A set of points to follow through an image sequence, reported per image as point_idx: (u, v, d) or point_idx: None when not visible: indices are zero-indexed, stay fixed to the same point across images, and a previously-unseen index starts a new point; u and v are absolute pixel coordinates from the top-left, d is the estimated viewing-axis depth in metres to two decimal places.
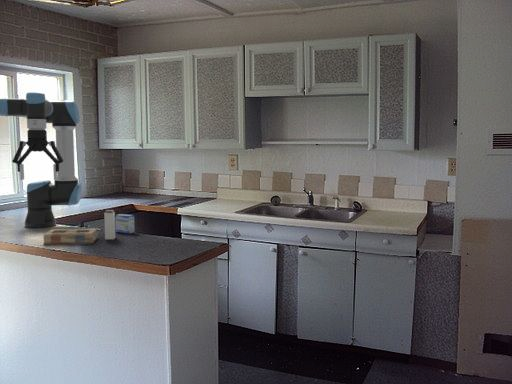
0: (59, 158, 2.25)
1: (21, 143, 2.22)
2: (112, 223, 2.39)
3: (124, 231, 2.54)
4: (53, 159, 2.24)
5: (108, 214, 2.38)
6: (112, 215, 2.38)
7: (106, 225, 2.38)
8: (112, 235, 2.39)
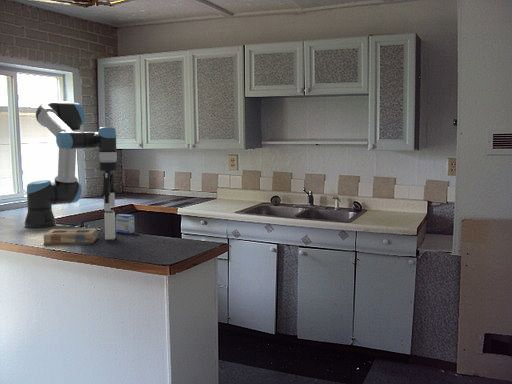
0: (103, 190, 2.30)
1: None
2: (112, 223, 2.39)
3: (124, 231, 2.54)
4: None
5: (108, 214, 2.38)
6: (112, 215, 2.38)
7: (106, 225, 2.38)
8: (112, 235, 2.39)
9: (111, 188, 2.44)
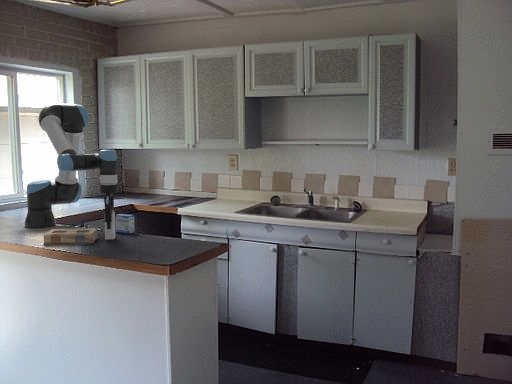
0: (105, 217, 2.35)
1: None
2: (112, 223, 2.39)
3: (124, 231, 2.54)
4: None
5: None
6: (112, 215, 2.38)
7: None
8: None
9: None
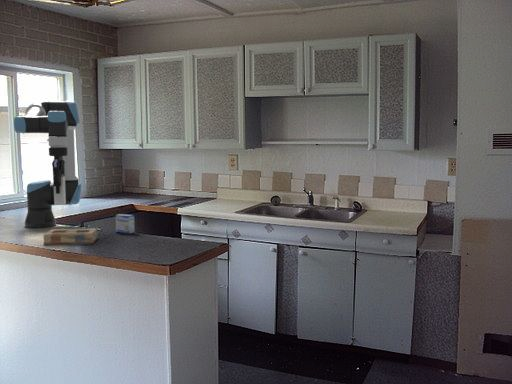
0: None
1: None
2: (62, 187, 2.30)
3: (124, 231, 2.54)
4: None
5: None
6: (61, 179, 2.29)
7: None
8: (62, 200, 2.30)
9: None
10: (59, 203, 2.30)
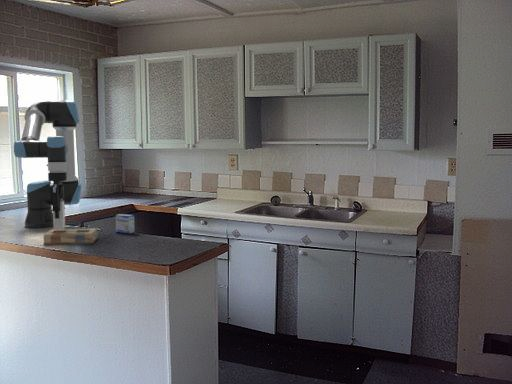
0: None
1: None
2: (61, 212, 2.30)
3: (124, 231, 2.54)
4: None
5: None
6: (61, 204, 2.30)
7: None
8: (61, 225, 2.31)
9: None
10: (58, 228, 2.31)
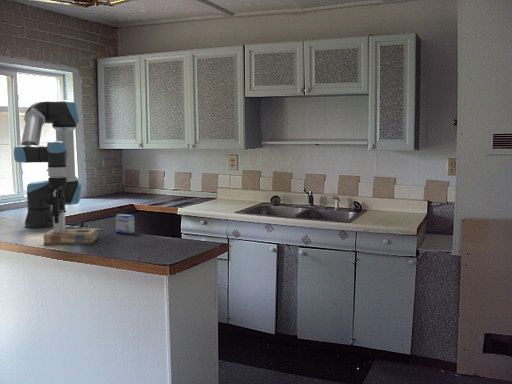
0: (52, 210, 2.26)
1: None
2: (61, 223, 2.31)
3: (124, 231, 2.54)
4: None
5: None
6: (61, 215, 2.31)
7: None
8: None
9: (61, 207, 2.35)
10: None
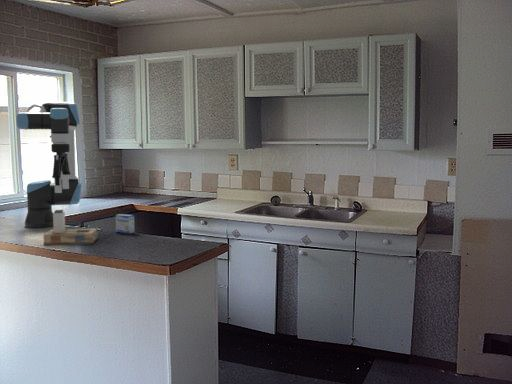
0: (53, 172, 2.27)
1: None
2: (61, 223, 2.31)
3: (124, 231, 2.54)
4: None
5: (57, 214, 2.30)
6: (61, 215, 2.31)
7: (55, 226, 2.31)
8: None
9: (65, 170, 2.41)
10: None
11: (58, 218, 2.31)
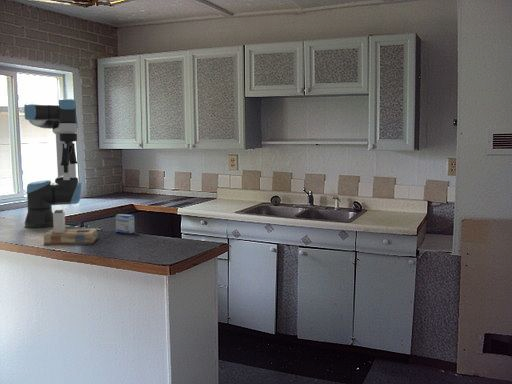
0: (62, 160, 2.36)
1: None
2: (61, 223, 2.31)
3: (124, 231, 2.54)
4: None
5: (57, 214, 2.30)
6: (61, 215, 2.31)
7: (55, 226, 2.31)
8: None
9: (72, 159, 2.51)
10: None
11: (58, 218, 2.31)
